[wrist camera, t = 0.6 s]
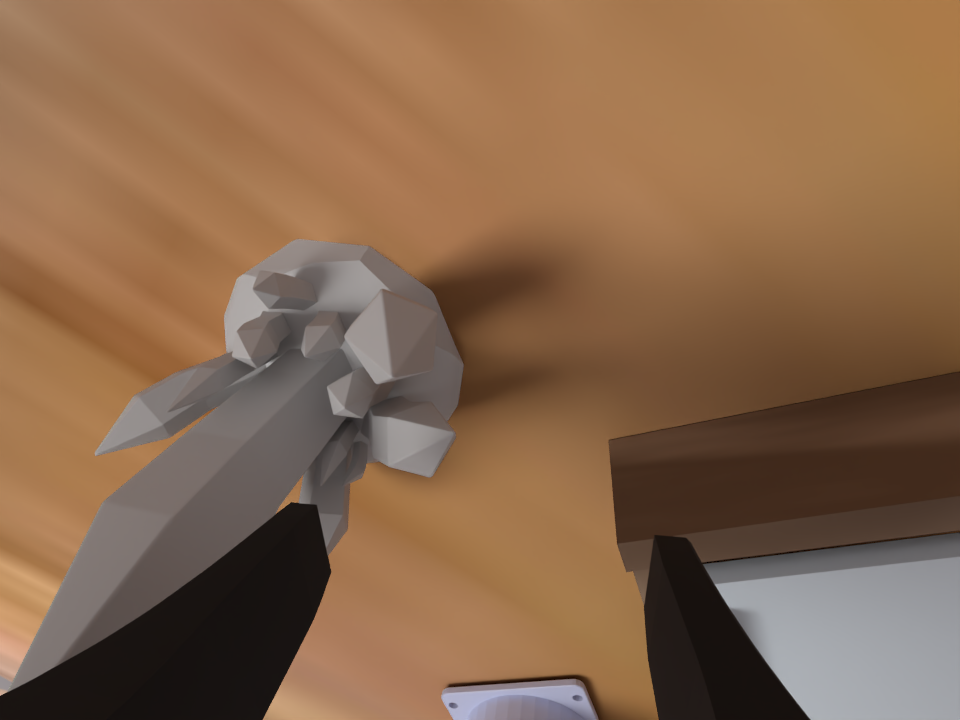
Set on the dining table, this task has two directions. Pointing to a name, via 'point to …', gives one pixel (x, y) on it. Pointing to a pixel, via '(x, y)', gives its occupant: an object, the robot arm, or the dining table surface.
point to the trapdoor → (856, 626)
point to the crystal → (263, 431)
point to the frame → (794, 476)
